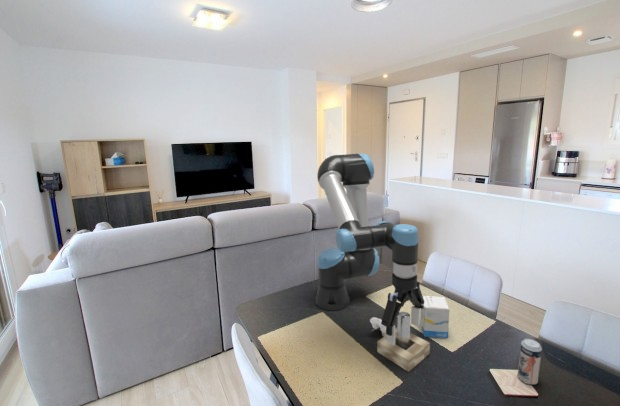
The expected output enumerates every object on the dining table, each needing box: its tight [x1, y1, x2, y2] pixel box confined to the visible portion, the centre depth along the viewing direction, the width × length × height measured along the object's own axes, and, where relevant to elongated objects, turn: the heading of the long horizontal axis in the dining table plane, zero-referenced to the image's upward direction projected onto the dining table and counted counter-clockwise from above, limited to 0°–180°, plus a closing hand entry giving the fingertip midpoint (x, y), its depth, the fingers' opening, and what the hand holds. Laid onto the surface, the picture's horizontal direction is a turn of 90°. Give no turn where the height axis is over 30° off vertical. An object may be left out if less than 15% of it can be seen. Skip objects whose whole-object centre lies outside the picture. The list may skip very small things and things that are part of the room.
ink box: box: [419, 295, 450, 339], centre depth 109 cm, size 9×8×12 cm
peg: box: [396, 311, 411, 350], centre depth 98 cm, size 4×4×14 cm
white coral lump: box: [369, 317, 387, 338], centre depth 111 cm, size 8×7×6 cm
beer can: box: [517, 338, 543, 385], centre depth 85 cm, size 5×5×12 cm
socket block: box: [376, 327, 431, 373], centre depth 99 cm, size 12×12×4 cm
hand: (403, 333), depth 98 cm, fingers open, 13 cm apart
